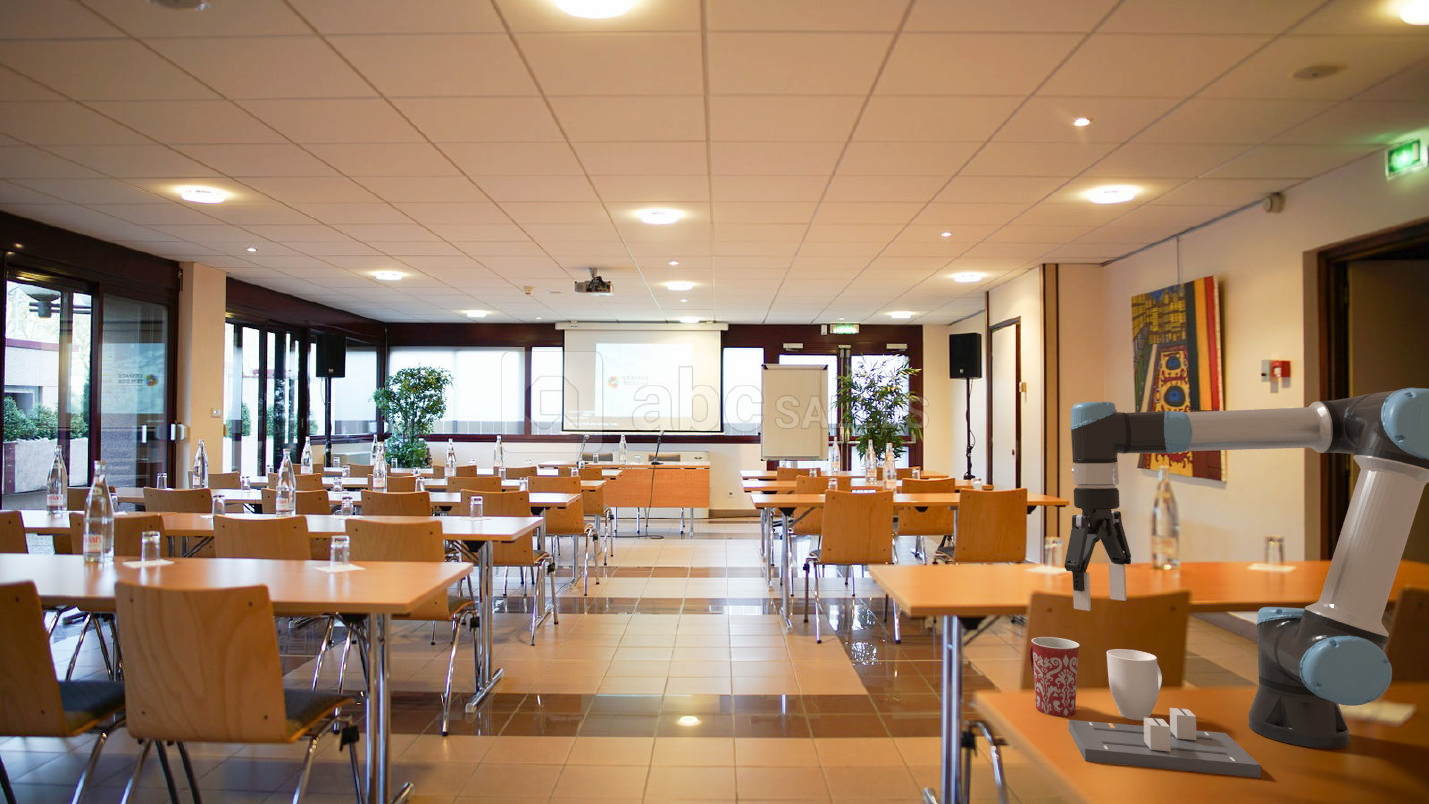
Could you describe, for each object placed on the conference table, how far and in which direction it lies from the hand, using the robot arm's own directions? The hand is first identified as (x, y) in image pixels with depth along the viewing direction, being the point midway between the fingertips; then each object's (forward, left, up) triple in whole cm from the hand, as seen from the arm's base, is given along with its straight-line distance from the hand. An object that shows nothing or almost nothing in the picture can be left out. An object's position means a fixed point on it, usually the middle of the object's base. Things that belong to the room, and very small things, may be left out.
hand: (1100, 604), depth 147 cm
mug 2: (-10, -17, -24) cm, 32 cm away
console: (-8, +4, -24) cm, 26 cm away
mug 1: (+6, -17, -24) cm, 31 cm away
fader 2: (-13, 0, -22) cm, 26 cm away
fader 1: (-7, +7, -22) cm, 24 cm away
